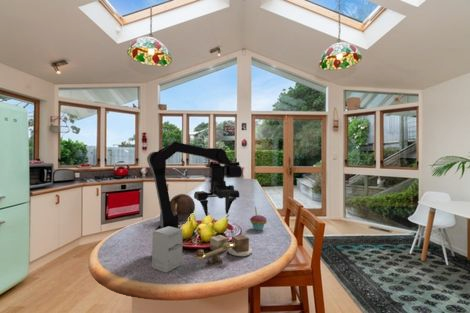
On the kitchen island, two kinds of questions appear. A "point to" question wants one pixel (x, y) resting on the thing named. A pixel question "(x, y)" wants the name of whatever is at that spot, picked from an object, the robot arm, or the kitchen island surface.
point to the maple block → (217, 242)
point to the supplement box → (167, 248)
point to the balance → (213, 253)
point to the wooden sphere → (182, 206)
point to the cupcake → (258, 221)
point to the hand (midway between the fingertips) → (216, 214)
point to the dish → (240, 252)
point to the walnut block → (240, 243)
